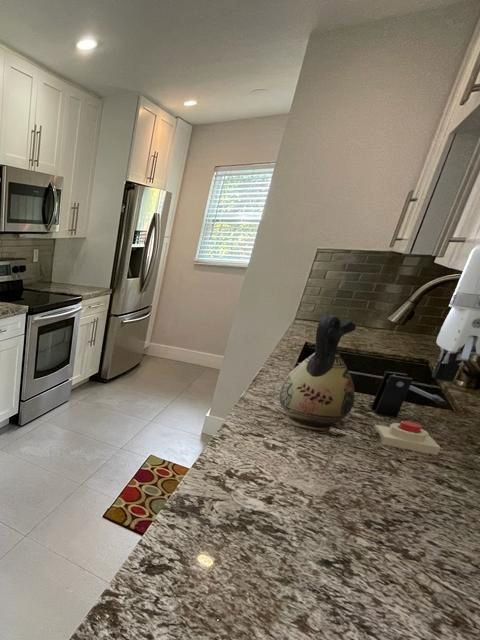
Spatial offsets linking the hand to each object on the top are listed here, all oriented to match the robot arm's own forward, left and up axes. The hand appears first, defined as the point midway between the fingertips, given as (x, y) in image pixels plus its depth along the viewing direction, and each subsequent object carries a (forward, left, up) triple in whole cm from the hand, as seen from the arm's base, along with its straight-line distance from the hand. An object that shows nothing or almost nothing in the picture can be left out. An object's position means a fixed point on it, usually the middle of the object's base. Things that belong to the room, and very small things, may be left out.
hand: (441, 379), depth 97 cm
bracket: (+2, -16, -17) cm, 24 cm away
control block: (+2, +2, -17) cm, 17 cm away
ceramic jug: (+22, +2, -17) cm, 28 cm away
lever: (-2, -16, -9) cm, 18 cm away
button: (+2, +2, -13) cm, 14 cm away
